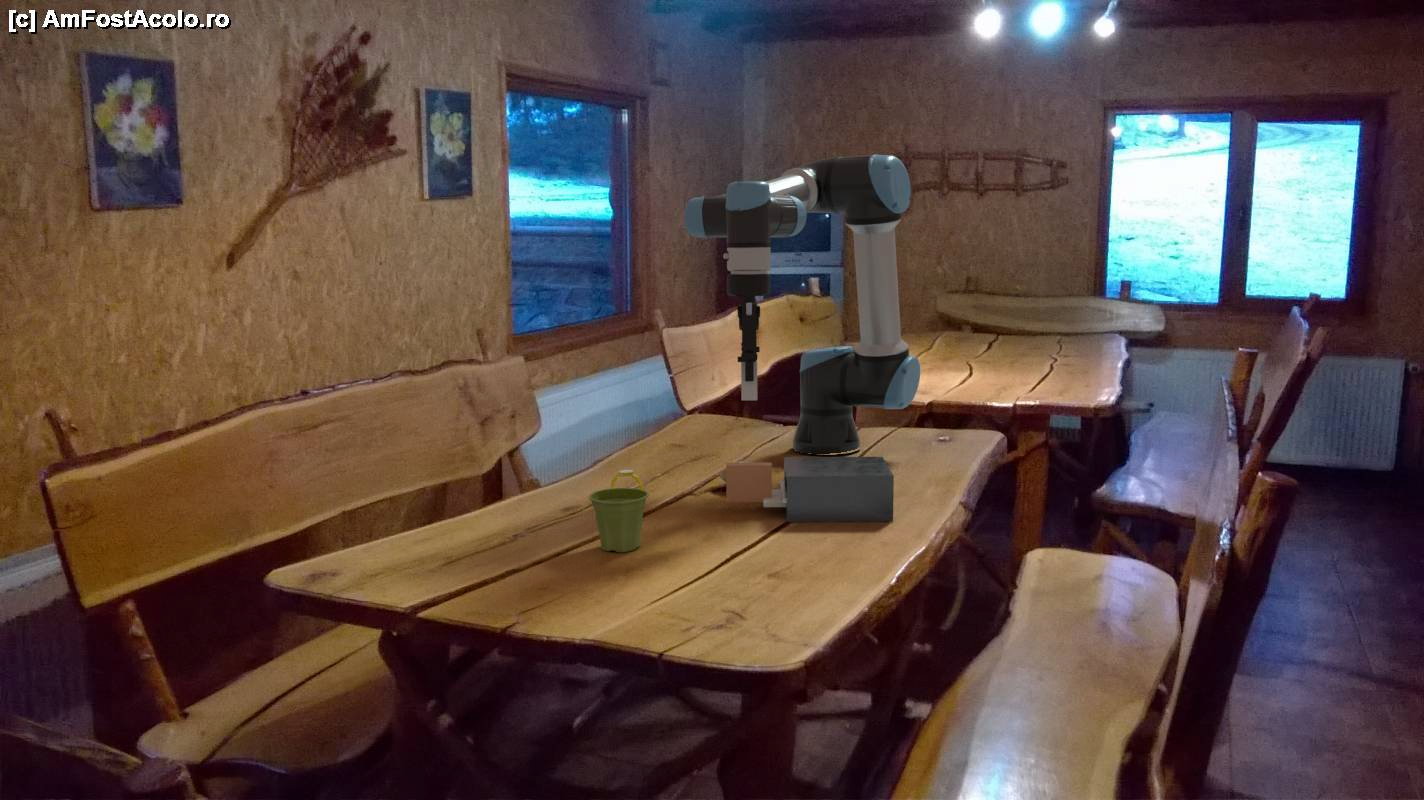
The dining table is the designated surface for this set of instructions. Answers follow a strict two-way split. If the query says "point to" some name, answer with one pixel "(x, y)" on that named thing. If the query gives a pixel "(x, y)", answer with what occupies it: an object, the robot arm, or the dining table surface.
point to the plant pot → (619, 517)
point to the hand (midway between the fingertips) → (749, 394)
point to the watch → (628, 473)
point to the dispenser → (837, 489)
